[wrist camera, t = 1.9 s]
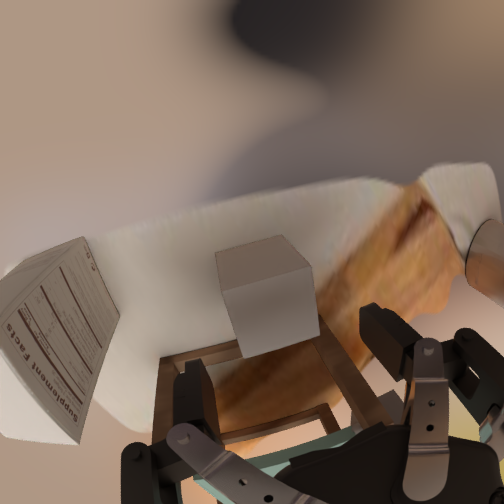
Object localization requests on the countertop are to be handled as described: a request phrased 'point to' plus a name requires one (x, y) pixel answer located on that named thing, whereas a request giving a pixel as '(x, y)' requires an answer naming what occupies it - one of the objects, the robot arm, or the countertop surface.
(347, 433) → the trapdoor
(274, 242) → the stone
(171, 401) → the frame
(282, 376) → the countertop surface
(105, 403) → the countertop surface
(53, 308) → the supplement box
